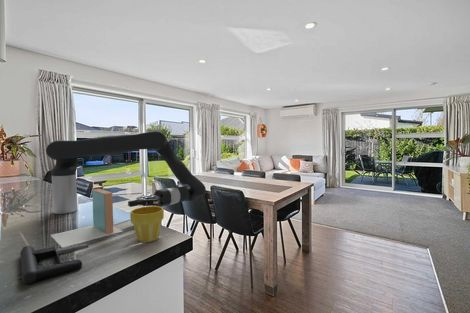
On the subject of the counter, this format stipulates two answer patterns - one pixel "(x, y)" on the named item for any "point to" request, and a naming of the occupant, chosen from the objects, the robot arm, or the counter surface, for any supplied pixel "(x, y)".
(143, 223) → the plant pot
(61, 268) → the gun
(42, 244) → the counter surface
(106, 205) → the terracotta tile
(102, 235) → the grey mat
